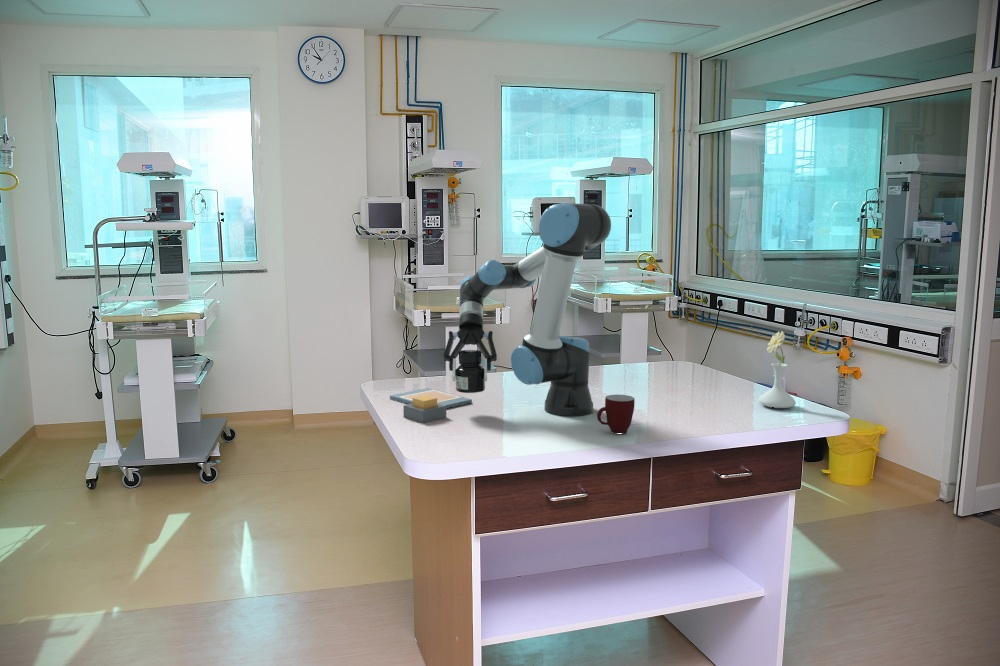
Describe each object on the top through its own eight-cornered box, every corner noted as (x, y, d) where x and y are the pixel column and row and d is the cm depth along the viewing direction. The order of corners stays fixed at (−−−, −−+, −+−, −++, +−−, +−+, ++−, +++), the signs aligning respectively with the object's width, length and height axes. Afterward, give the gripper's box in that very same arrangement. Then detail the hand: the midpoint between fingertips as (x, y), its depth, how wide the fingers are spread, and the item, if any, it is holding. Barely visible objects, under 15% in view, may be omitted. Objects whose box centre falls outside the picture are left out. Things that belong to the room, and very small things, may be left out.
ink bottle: (453, 388, 236) (452, 349, 235) (481, 386, 239) (480, 348, 237) (459, 394, 227) (458, 354, 225) (488, 393, 229) (487, 353, 228)
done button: (437, 411, 228) (437, 398, 228) (423, 414, 225) (423, 401, 224) (426, 408, 232) (425, 395, 231) (412, 411, 228) (412, 397, 228)
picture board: (471, 403, 246) (471, 399, 246) (433, 411, 235) (433, 407, 235) (427, 391, 262) (427, 387, 261) (389, 398, 250) (389, 395, 250)
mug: (605, 438, 209) (606, 403, 207) (591, 431, 216) (592, 396, 215) (638, 435, 213) (640, 399, 211) (623, 427, 220) (624, 393, 219)
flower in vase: (758, 401, 254) (763, 326, 250) (795, 404, 250) (800, 328, 246) (757, 410, 241) (762, 331, 238) (796, 413, 238) (801, 334, 234)
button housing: (446, 417, 229) (446, 405, 228) (422, 422, 222) (422, 411, 222) (426, 411, 235) (426, 400, 235) (403, 416, 229) (403, 405, 228)
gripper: (505, 326, 246) (505, 385, 232) (437, 326, 246) (434, 385, 232) (505, 311, 240) (505, 371, 226) (436, 311, 240) (432, 371, 226)
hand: (469, 378), depth 229 cm, fingers closed on ink bottle, 9 cm apart
